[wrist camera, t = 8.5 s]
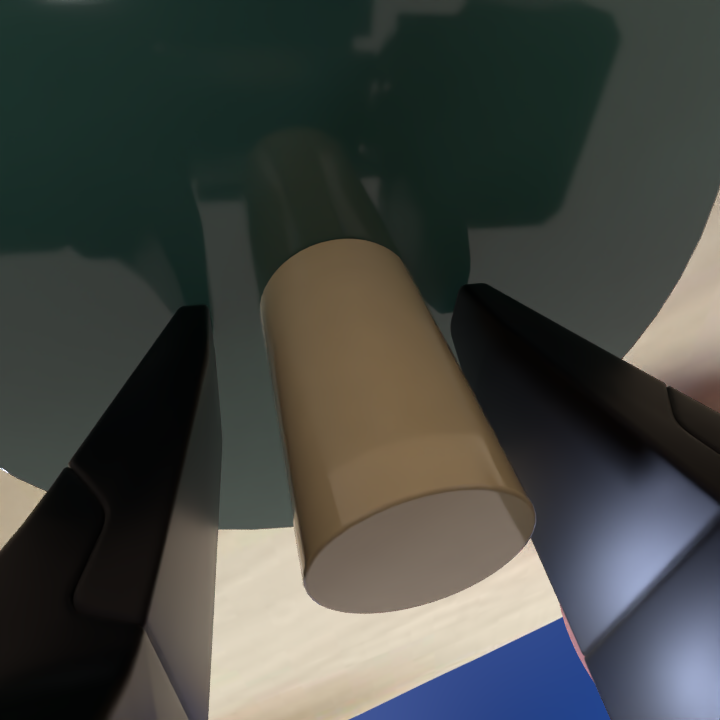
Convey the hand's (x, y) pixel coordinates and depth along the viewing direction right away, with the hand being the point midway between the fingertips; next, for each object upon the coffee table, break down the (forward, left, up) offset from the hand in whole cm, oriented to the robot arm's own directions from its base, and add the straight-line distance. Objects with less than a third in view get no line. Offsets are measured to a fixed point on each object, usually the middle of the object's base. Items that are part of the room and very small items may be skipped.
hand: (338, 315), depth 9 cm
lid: (0, 0, -1) cm, 1 cm away
